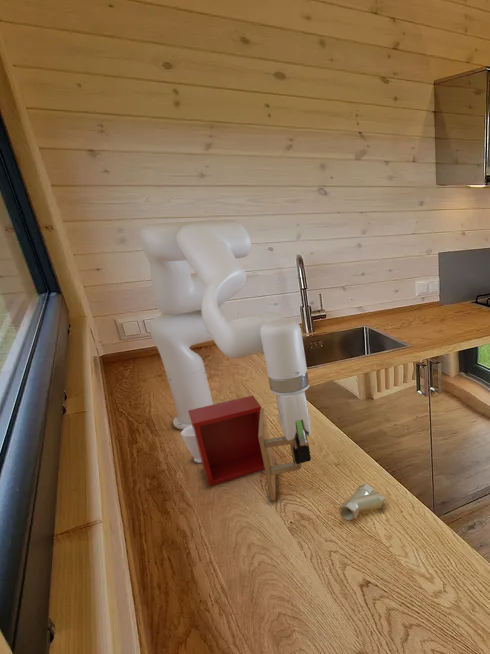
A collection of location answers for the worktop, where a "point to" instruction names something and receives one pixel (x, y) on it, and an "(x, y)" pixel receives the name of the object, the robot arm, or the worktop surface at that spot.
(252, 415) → the valve cabinet
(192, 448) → the cup
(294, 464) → the cabinet door
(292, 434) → the robot arm
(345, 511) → the pipe fitting
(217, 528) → the worktop surface
